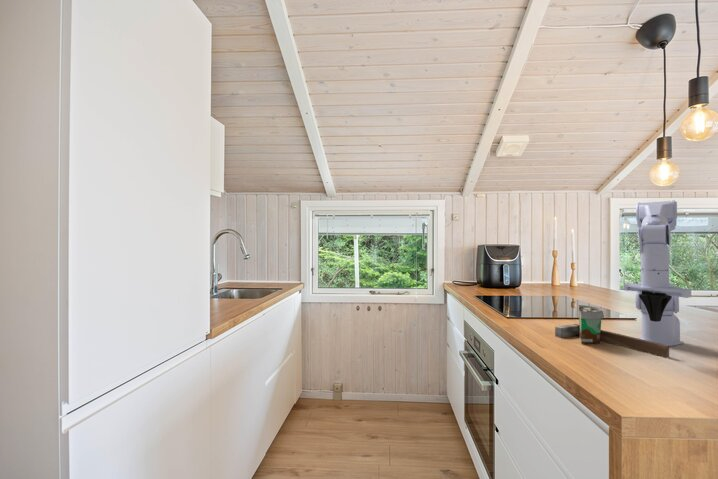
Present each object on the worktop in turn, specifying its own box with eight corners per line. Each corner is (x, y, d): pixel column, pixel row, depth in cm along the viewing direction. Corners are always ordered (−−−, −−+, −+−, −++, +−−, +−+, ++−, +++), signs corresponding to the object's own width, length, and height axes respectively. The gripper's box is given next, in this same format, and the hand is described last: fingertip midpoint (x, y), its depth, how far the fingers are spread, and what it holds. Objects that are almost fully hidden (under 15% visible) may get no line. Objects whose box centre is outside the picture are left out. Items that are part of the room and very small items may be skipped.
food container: (607, 348, 99) (606, 313, 99) (581, 345, 102) (581, 311, 102) (602, 337, 109) (601, 306, 109) (579, 335, 112) (578, 304, 112)
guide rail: (575, 332, 115) (575, 323, 115) (669, 356, 91) (669, 345, 91) (555, 336, 112) (555, 326, 112) (646, 361, 87) (646, 350, 87)
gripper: (615, 268, 97) (616, 316, 97) (678, 272, 83) (679, 328, 83) (632, 267, 99) (633, 314, 99) (695, 271, 86) (696, 325, 86)
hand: (655, 320), depth 92 cm, fingers closed
